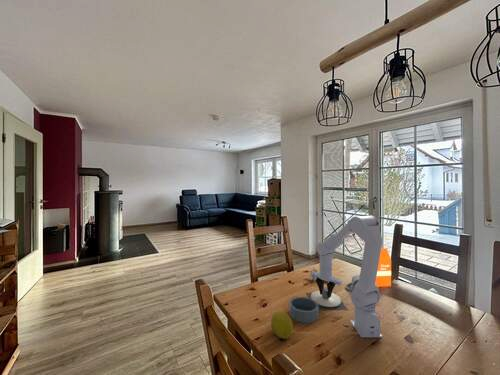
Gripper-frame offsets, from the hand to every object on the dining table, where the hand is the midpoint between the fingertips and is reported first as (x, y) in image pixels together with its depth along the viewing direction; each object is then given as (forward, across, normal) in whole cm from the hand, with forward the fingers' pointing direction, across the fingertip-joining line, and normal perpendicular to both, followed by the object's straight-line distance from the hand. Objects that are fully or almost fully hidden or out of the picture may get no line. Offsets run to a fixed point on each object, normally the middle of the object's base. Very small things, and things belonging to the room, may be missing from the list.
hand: (325, 295), depth 106 cm
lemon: (+3, +1, +33) cm, 33 cm away
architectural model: (+4, +16, -17) cm, 23 cm away
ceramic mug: (+3, -6, -22) cm, 23 cm away
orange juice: (+3, -12, -40) cm, 42 cm away
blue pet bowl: (+3, +2, +17) cm, 17 cm away
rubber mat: (+3, 0, 0) cm, 3 cm away
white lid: (+2, 0, 0) cm, 2 cm away
